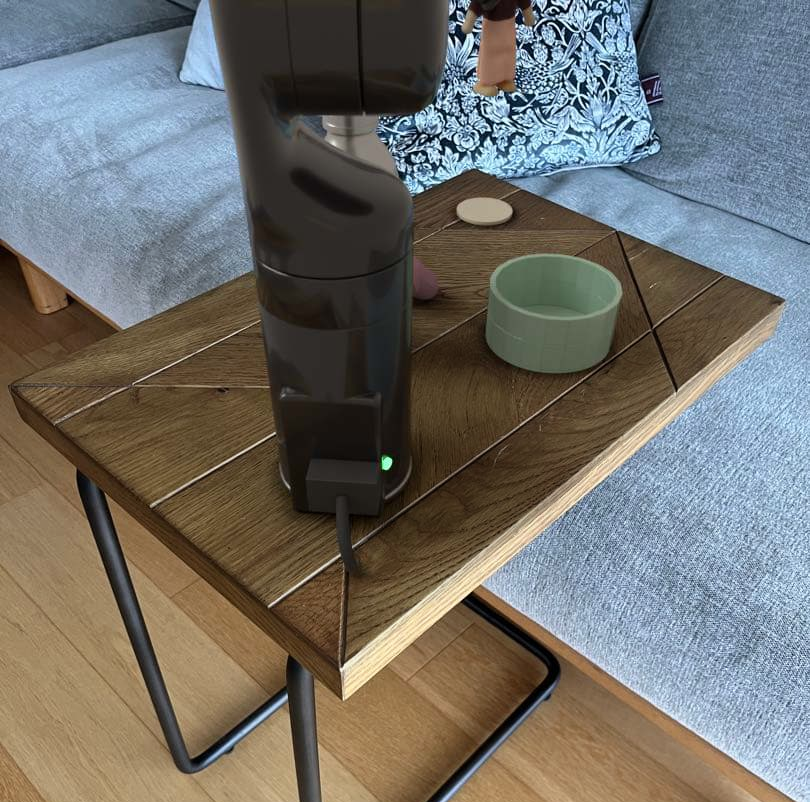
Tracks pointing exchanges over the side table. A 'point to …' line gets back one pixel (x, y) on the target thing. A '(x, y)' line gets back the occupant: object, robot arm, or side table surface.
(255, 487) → the side table surface
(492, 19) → the grandmother figurine
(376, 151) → the metal water bottle
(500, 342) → the bowl
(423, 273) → the video game controller
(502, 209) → the coaster
